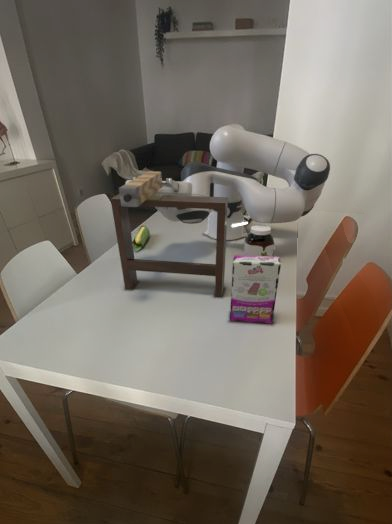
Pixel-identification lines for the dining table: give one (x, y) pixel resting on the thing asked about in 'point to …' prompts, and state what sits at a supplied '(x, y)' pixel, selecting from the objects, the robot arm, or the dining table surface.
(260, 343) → the dining table surface
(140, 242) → the edible corn
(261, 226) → the spread jar
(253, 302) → the candy bar box
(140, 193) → the light wood square bar
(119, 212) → the dark brown wooden frame
